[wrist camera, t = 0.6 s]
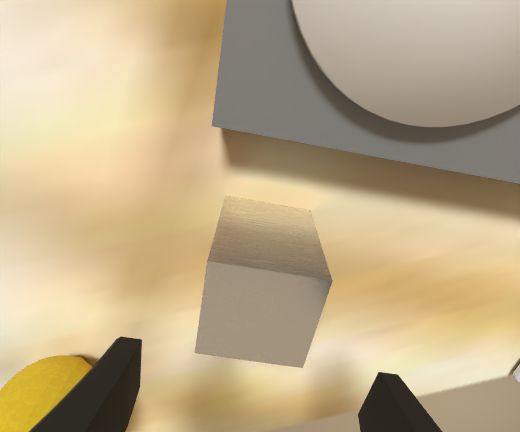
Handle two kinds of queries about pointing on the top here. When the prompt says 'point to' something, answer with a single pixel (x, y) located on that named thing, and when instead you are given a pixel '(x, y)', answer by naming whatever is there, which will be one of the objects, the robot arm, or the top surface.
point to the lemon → (38, 391)
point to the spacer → (263, 284)
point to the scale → (378, 79)
